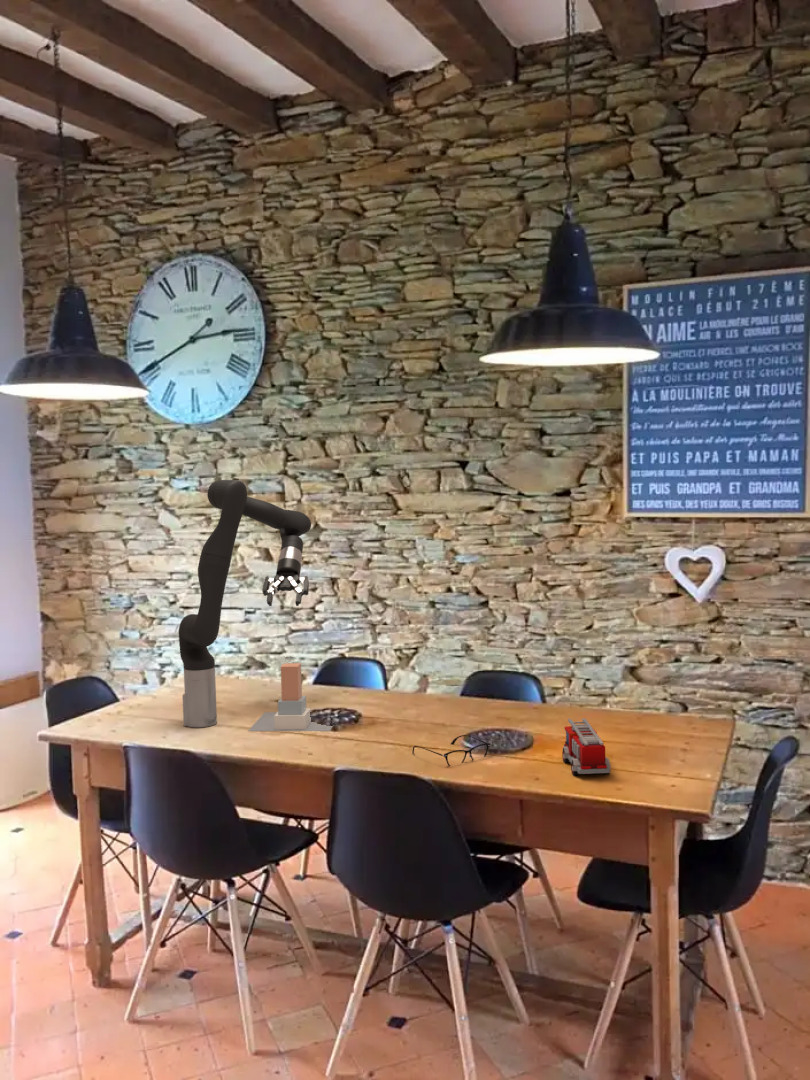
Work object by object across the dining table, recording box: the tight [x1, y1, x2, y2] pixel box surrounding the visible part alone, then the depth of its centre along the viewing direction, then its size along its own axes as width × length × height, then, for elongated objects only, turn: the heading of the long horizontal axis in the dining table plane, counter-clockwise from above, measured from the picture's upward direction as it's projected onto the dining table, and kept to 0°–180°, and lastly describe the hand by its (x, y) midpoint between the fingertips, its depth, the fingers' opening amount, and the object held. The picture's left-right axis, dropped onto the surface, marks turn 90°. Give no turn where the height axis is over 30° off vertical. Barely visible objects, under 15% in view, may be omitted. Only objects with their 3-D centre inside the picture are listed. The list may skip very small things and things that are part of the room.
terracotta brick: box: [280, 662, 303, 701], centre depth 274 cm, size 5×5×10 cm
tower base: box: [274, 695, 311, 730], centre depth 274 cm, size 9×9×8 cm
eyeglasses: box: [412, 734, 491, 766], centre depth 244 cm, size 16×16×4 cm
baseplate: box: [247, 711, 334, 732], centre depth 279 cm, size 24×22×1 cm
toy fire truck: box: [561, 718, 612, 776], centre depth 230 cm, size 9×19×10 cm, turn 2°
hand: (283, 604), depth 288 cm, fingers open, 8 cm apart
